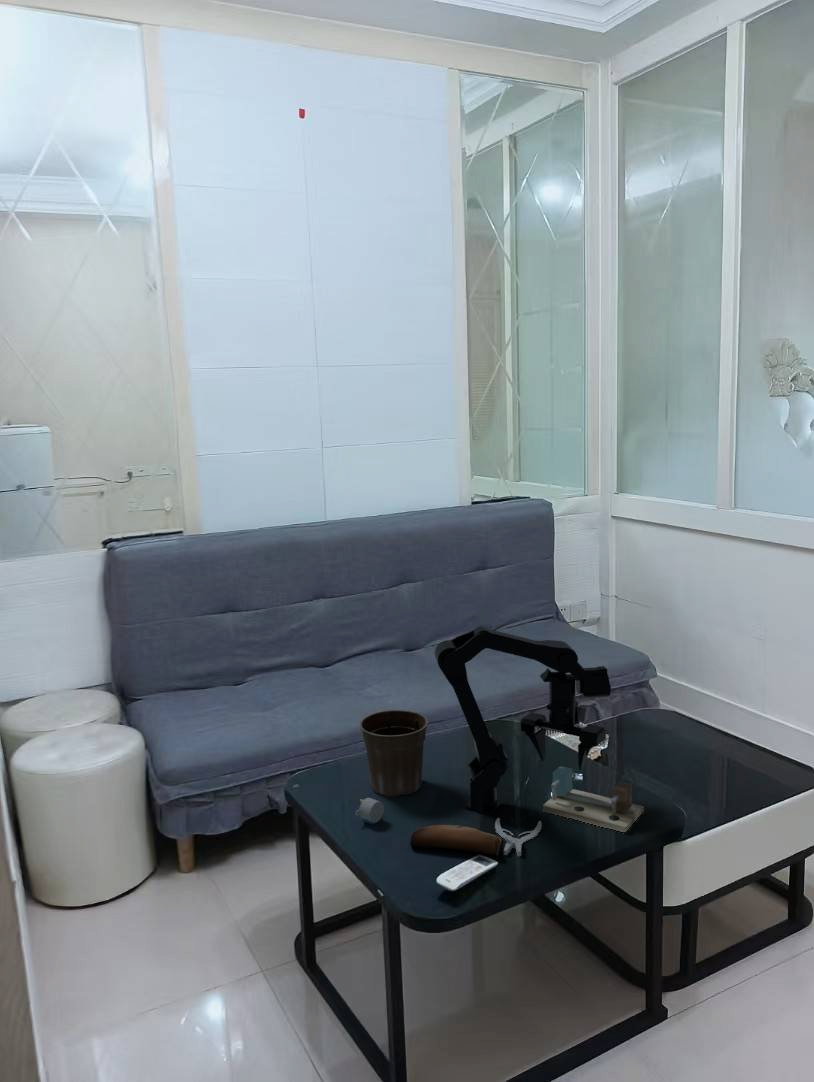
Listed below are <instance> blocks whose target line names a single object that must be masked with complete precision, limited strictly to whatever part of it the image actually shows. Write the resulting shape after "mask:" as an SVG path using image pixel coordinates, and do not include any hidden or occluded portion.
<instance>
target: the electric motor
mask: <svg viewBox="0 0 814 1082" xmlns="http://www.w3.org/2000/svg"><path fill="white" fill-rule="evenodd" d="M359 803H360V804H359V808H358V809H357V810H356V811H355V816H356V817H358V816H359V817H360V819H362V821H363V822H364V823H366V824H369V825H372V826H373V825H375V824H376V823H379V822H380V821H381V819H382V818H383V815H384V813H385V812H384V810H385V806H384V804H383V802H382V801H379V800H376V799H374V798H371V797H366V798H364V799H362V798H360V799H359Z"/></svg>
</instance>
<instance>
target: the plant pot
mask: <svg viewBox="0 0 814 1082" xmlns="http://www.w3.org/2000/svg"><path fill="white" fill-rule="evenodd" d="M428 725H429V720H428V718H427V717H426V716H425V715H423V714H422V713H419V712H415V711H412V710H411V711H410V710H405V709H404V710H403V709H398V710H397V709H396V710H395V709H391V710H390V709H389V710H382V711H377V712H374V713H371V714H368V715H367V716H365V717H364V718H362V719H361V720H360V722H359V729H360V730H361V732H362V739H363V742H364V744H365V750H366V758H367V759H366V760H367V764H368V774H369V781H370V786H371V789H372V790H373V792H375V793H377V794H378V795H381V796H384V797H385V796H386V797H392V798H393V797H399V796H400V795H404V796H409V795H411V794H414V793H415V792H417V791H419V789H421V787H422V781H423V779H422V778H423V763H424V762H423V759H424V746H425V740H426V733H427V728H428Z"/></svg>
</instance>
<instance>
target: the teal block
mask: <svg viewBox="0 0 814 1082" xmlns="http://www.w3.org/2000/svg"><path fill="white" fill-rule="evenodd" d="M550 787H551V798H552V800H556V794H557V795H561V796H566V795H567V794H568V793H569V792H570V791H572V789H573V768H569V767H565V766H562V765H561V766H559V767H557V768H556V769H555V770H554V771H553V772H552V783H551V785H550Z"/></svg>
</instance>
